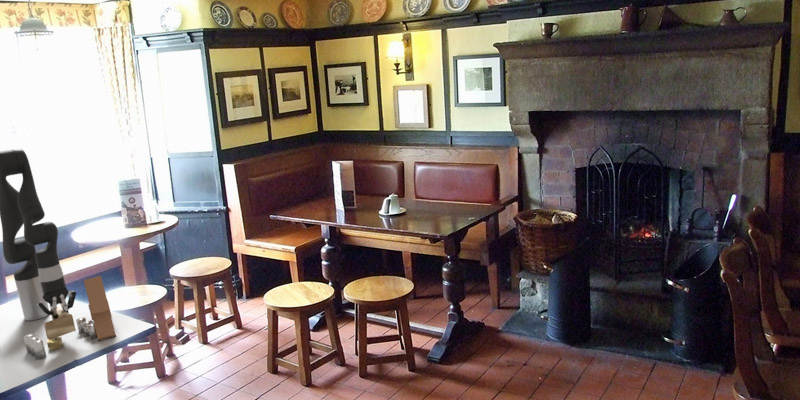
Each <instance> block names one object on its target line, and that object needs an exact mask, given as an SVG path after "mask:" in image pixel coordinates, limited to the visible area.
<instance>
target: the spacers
mask: <svg viewBox="0 0 800 400" xmlns="http://www.w3.org/2000/svg"><path fill="white" fill-rule="evenodd" d="M75 321H76V325H77V330H78V334H83V333H84V336H85V337H88V338H89V339H90V340H96V339H97V340H98V337H97V333H96V329H95V325H94V322H93V321H92V320H87V319H86V317H85V316H84V317H79V318H76V320H75ZM23 340H24V346H25V348H26V352H27V354H31V357H35V359H36V361H37V360H43V359H45V358H47V353H46V349H45V345H44V344H45V343H44V341H43V339H39V337H38V336H35V335H34V333H29V334H26V335H24V336H23Z"/></svg>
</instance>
